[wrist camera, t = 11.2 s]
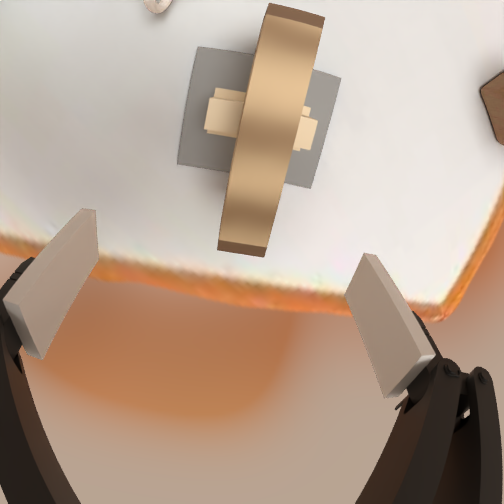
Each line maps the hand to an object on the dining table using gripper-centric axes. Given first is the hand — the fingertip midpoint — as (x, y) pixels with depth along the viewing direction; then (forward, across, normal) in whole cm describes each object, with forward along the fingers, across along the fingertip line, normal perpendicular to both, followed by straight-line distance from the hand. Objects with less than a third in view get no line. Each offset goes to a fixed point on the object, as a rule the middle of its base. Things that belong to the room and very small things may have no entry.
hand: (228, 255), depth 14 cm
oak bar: (+16, +2, +4) cm, 16 cm away
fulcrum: (+22, +2, +4) cm, 23 cm away
